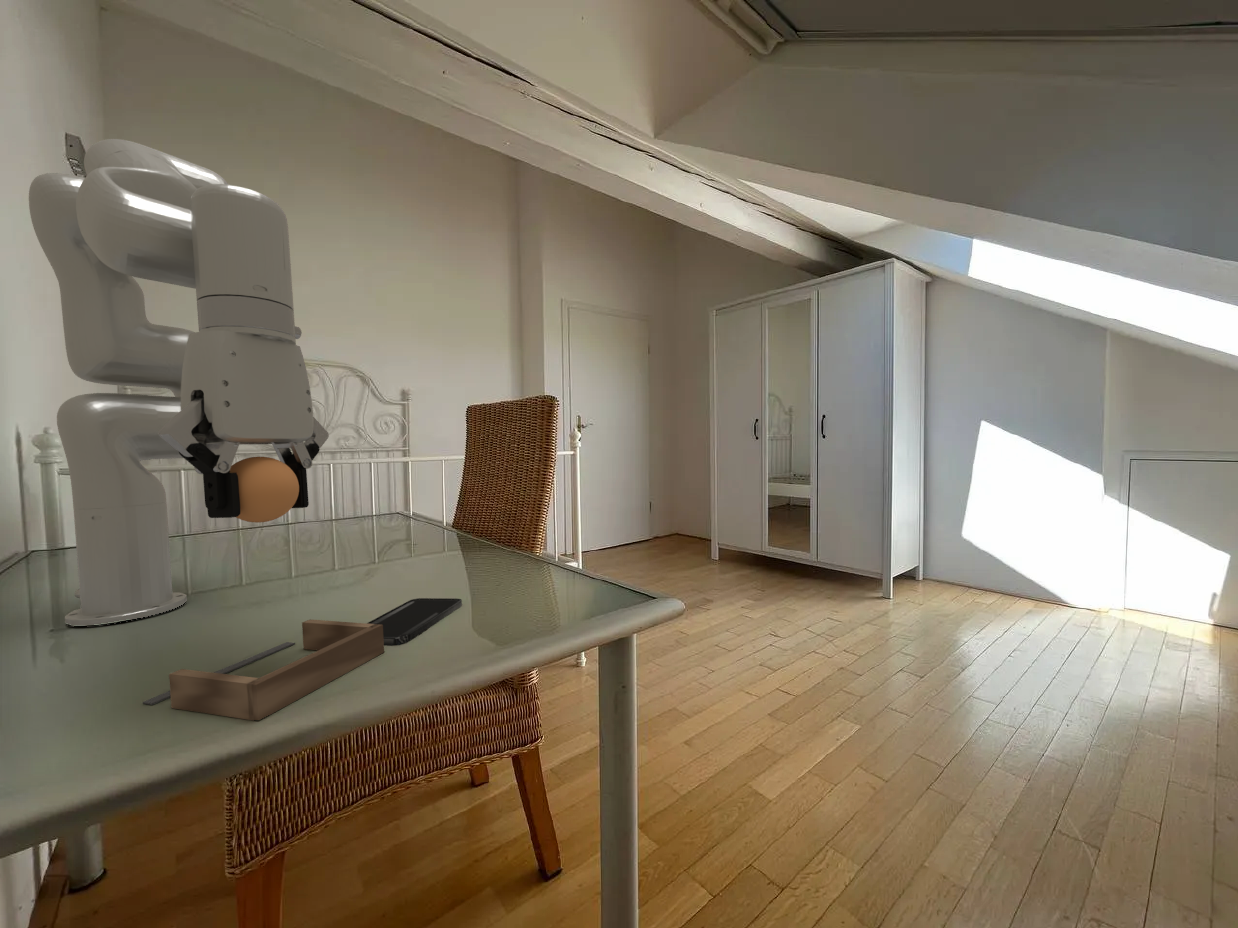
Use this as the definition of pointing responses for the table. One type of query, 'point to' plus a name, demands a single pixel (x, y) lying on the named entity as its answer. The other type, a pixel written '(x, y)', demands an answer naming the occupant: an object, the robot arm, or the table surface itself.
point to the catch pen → (280, 673)
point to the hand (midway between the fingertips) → (261, 510)
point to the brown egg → (265, 488)
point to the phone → (414, 618)
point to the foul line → (227, 669)
